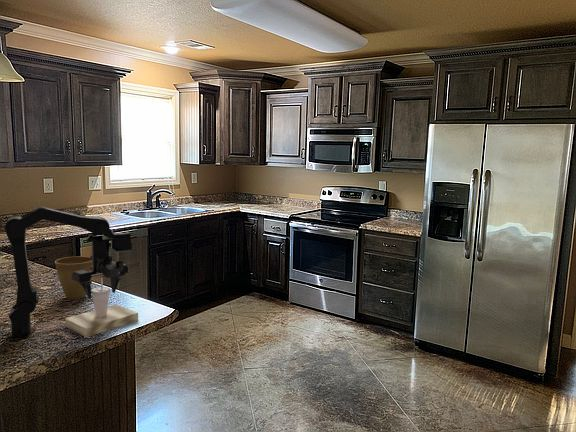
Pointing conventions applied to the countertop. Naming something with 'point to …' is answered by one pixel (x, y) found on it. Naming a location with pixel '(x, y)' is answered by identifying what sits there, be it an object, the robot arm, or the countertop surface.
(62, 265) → the plant pot
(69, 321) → the plinth
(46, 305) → the countertop surface
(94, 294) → the smoothie
